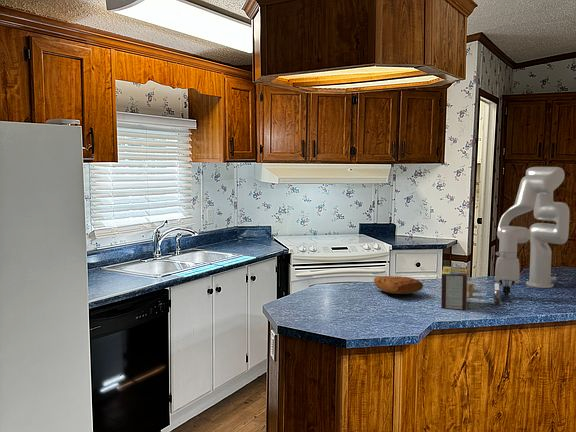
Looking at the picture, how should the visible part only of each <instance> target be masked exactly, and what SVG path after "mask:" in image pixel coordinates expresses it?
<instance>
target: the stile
mask: <svg viewBox="0 0 576 432" xmlns="http://www.w3.org/2000/svg"><path fill="white" fill-rule="evenodd" d="M473 293H474V291H473V284H470V283H467V298H473Z"/></svg>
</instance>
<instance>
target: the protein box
mask: <svg viewBox="0 0 576 432" xmlns="http://www.w3.org/2000/svg"><path fill="white" fill-rule="evenodd" d="M467 282H468V267H459V266H458V267H457V266H443V268H442V272H441V301H440V303H441V305H440V306H441V307H440V309H444V310H445V309H446V310H457V311H458V310H459V311H467V300H468V299H467V298H468V297H467Z"/></svg>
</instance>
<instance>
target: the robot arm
mask: <svg viewBox="0 0 576 432" xmlns="http://www.w3.org/2000/svg"><path fill="white" fill-rule="evenodd" d="M565 175H566V174H565V171H564V169H563V168H562V167H559V166H532V167H531V166H530V167H529V168H527V169H526V170H525V176H523V177H522V178H521V180H520V183H519V187H518V190H517V194H516V197H515V201H514V204H513V205H512V206H510V207H509V208H508V209H507V210H506V211H505V212H504V213H503V214H502V215H501V217H500V219H499V222H498V227H497V231H496V236H497V239H498V240H499V245H498V246H499V247H498V251H495V255H496V256H498V257H496V262H495V271H494V280H493V281H495V282H496V283H499V284H501V285H502V294H504V296H509V294H511V287H512V286H513V285H515V284H519V283H520V259H519V258H518V256H517V255H518V244H526V243H527V242H529V243H530V254H529V255H530V256H529V257H530V258H529V280H526V281H525V285H526V286H528V287H532V288H539V289H550V288H554V283H553V281H556V280H557V277H556V276H551V273H552V255H553V254H552V248H551V247H550V245H549V244H555V245H563V244H565V243H567V241H568V239H569V233H570V232H569V231H570V207H569V206H568V204H567V203H566V202H561V201H554V191H555V190H556V189H557V188H559V187H560V185H561V184H562V183H563V182H564V180H565ZM531 211H533V217H534V218H535V219H536V220H537V221H538V220H539V221H546V222H547V221H548V222H547V223H545V222H536V223H533V224H532V225H530V227H529V228H528V227H524V226H514V225H510V223H511V222H512V220H514V218H516V217H518V216H521V215H523V214H526V213H529V212H531ZM549 222H555V223H549ZM506 281H507V282H508V283H506Z"/></svg>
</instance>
